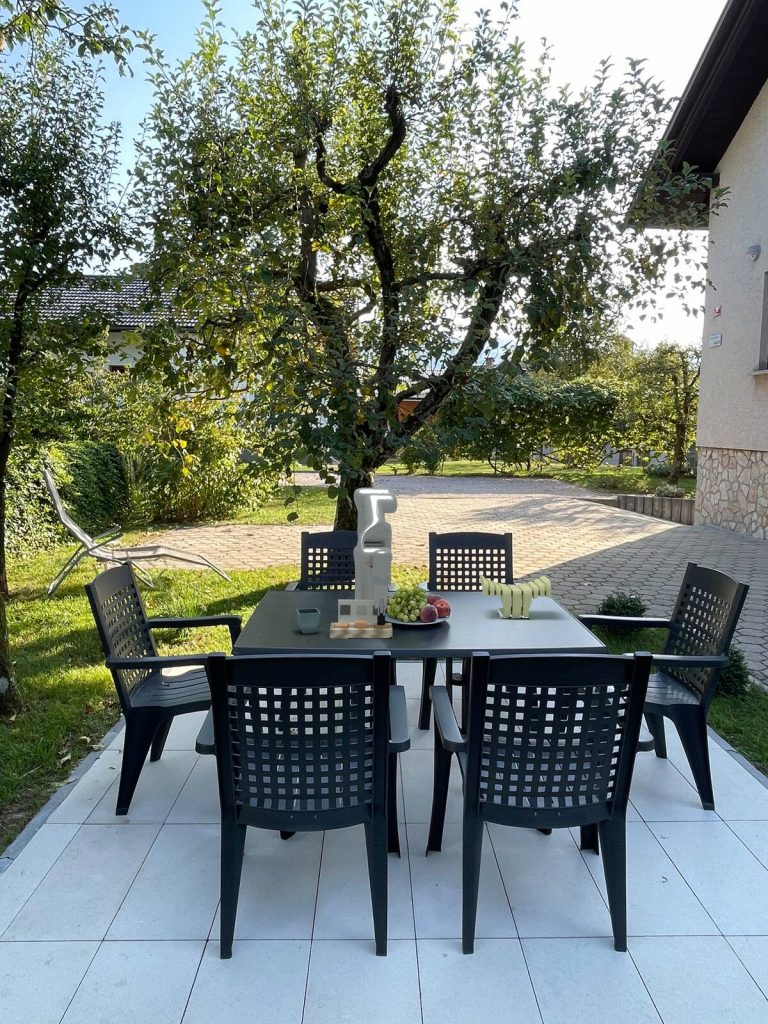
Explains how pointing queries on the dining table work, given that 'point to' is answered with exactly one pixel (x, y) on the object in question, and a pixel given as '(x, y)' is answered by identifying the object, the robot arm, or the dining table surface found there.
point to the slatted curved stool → (516, 594)
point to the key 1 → (341, 625)
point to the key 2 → (380, 626)
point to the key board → (361, 631)
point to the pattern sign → (357, 611)
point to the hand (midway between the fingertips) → (381, 624)
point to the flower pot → (308, 619)
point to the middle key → (360, 623)
